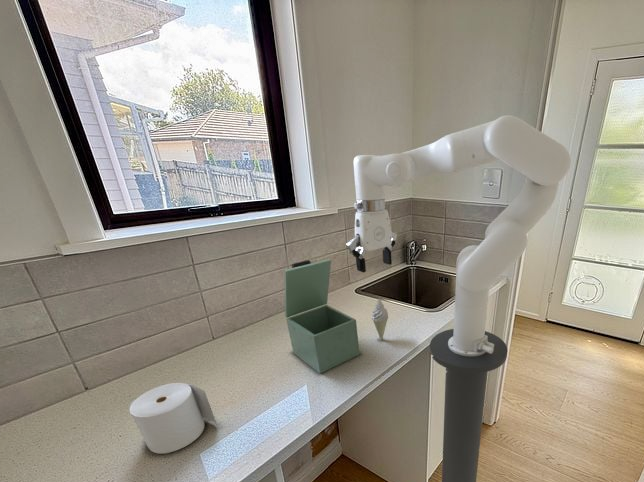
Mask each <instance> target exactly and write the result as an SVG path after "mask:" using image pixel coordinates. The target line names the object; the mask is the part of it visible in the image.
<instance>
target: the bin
mask: <svg viewBox="0 0 644 482" xmlns="http://www.w3.org/2000/svg"><path fill="white" fill-rule="evenodd" d="M285 319H286V324H287V329H288V334H289V339H290V343H291V350H292V353H293V354H294V355H295V356H297V357H298V358H299V359H301V360H302V361H303V362H304V363H306V364H307V365H308V366H309V367H311V368H312V369H314V370H315V371H316V372H317V373H318V374H322V373H324V372H326V371H329V370H330V369H333V368H334V367H337V366H339V365H341V364H343V363H345V362H347V361H349V360H352V359H353V358H355V357H357V356H359V355H360V346H359V345H360V344H359V336H358V327H357V319H355V318H353V317H351V316H349V315H347V314H346V313H343V312H342V311H340V310H339V309H336V308H334V307H332V306H330V305H328V304H325V305H322V306H320V307H317V308H314V309H311V310H308V311H305V312H302V313H299V314H296V315H293V316H290V317H287V318H286V317H285Z"/></svg>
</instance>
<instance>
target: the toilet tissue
mask: <svg viewBox="0 0 644 482" xmlns="http://www.w3.org/2000/svg"><path fill="white" fill-rule="evenodd" d="M128 410H129V413H130V415H131V417H132V419H133V422H134V423H135V424H136V427H137V429H138V431H139V432H140V435H141V436H142V439H143V440H144V443H145V444H146V446H147V448H148V449H149V450H150V451H151V452H152V453H155V454H158V455H159V454H169V453H172V452H176V451H179V450H181V449H183V448H185V447H187V446H188V445H190V444H192V443H193V442H194V441H196V440H197V439H198V438H199V437H200V436H201V435H202V433H203V432H204V430H205V427H206V426H205V424H206V423H205V421H204V419H206V420H208V421H209V422H212V423H214V424H215V425H218V423H217V420H216V418H215V415H214V413H213V409H212V407H211V404H210V402H209V399H208V396H207V393H206V391H205V390H203V388H200V387H198V386H196V385H194V384H189V383H185V382H172V383H166V384H163V385H159V386H157V387H154V388H152V389H149V390H147V391H146V392H144V393H143V394H140V395H139V396H138V397H137V398H136V399H135V400H133V401H132V403H131V404H130V406H129V409H128Z"/></svg>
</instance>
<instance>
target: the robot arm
mask: <svg viewBox="0 0 644 482" xmlns="http://www.w3.org/2000/svg"><path fill="white" fill-rule="evenodd" d="M571 159H572V158H571V155H570V152H569V150H568V148H566V146H564V145H563V144H562V143H560V142H559V141H557V140H556V139H553V138H552V137H550V135H549V136H548V135H547V134H545V133H544V132H542V131H540V130H539V129H537V128H536V127H534V126H532V125H531V124H530V123H528V122H526V121H525V120H523V119H522V118H519V117H517V116H515V115H512V114H506V115H502V116H499V117H498V118H496V119H494V120H491V121H488V122H485V123H481V124H478V125H475V126H472V127H468V128H466V129H461V130H459V131H455V132H452V133H449V134H446V135H444V136H442V137H441V138H439V139H438V140H436V141H434V142H432V143H431V142H430V143H429V144H426V145H423V146H420V147H417V148H414V149H411V150H407V151H404V152H397V153H389V154H384V155H379V154H358V155H356V156H355V157H354V158H353V175H354V187H355V197H356V198H355V199H356V200H355V201H356V203H354V204H353V208H354V209H355V210H356V212H355V217H354V236H353V237H352V238H351V239H350V240H349V241H348V242H346V247H347V249H348V251H349V253H350V254H351V255H352V256H353V257H354V258H355V264H356V269H357V271H359V272H361V273H366V272H367V268H366V259H365V257H364V256H365V255H366V252H372V251H376V250H380V249H382V262H383V264H386V265H392V263H393V262H392V261H393V260H392V252H393V250H394V246H395V245H396V240H397V238H398V234H397V233H396V232H394V231H392V226H391V225H392V224H391V219H390V218H391V217H390V214H389V212H388V211H389V210H387V209H386V200H385V197H386V196H385V186H386V187H393V188H394V187H395V188H397V187H402V186H404V185H406V184H407V183H411V182H414V181H417V180H421V179H424V178H427V177H432V176H435V175H441V174H453V173H458V172H461V171H464V170H468V169H471V168H475V167H479V166H481V165H485V164H489V163H493V162H496V161H499V160H500V161H501V162H503V163H504V164H506V165H507V166H508V167H511V168H512V169H514V170H515V171H517V172H518V173H520V174H522V175H523V176H524V183H523V186H522V187H521V189H520V191H519V192H518V194H517V195H516V196H515V197H514V199H512V201H511V202H510V203H509V204H508V205H507V206H506V208H504V209H503V210H502V211H501V212H500V213H499V214H498V215H497V216H496V217H495V218H494V219H493V220H492V221H491V222H490V223H489V224H488V226H486V229H485V234H484V239H483V240H482V241H481V242H480V244H478V245H477V244H472V245H468V246H466V247H464V248H462V250H461V251H460V252H459V254H458V255H457V257H456V264H455V291H454V292H455V293H454V311H453V312H454V313H453V329H454V332H453V337H451V338H450V339H449V341H448V347H449V349H450V350H451V351H452V352H454V353H456V354H458V355H461V356H468V357H474V356H479V355H482V354H484V353H486V352H488V353H490V354H492V353H493V350H494V348H493V347H494V344H493V343H490V342H488V341H487V338H488V336H487V335H485V331H486V324H487V313H488V303H489V295H490V294H489V292H490V286H492V285H493V284H494V283H495V282H496V281H497V280H498V279H500V277H502V275H503V274H505V273H506V272H507V271H508V270H509V269H510V268H511V267H512V266H513V265H515V263H516V262H518V261H519V259H520V258H521V257H522V256H523V254H524V252H525V251H526V248H527V246H528V233H529V232H530V231H531V230H532V229H533V228H534V227H535V226H536V225H537V224H538V223H539V222H540V221H541V219H542V218H543V217H545V215H546V214H547V213H548V211H549V210H550V208H551V207H552V205H553V204H554V202H555V200H556V197H557V194H558V190H559V183H560V182H561V181H562V180H564V179H565V177H566V176H567V174H568V173H569V171H570V169H571V164H572V160H571ZM355 247H356V248H355Z"/></svg>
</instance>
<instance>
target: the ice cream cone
mask: <svg viewBox="0 0 644 482" xmlns="http://www.w3.org/2000/svg"><path fill="white" fill-rule="evenodd" d="M371 319H372V322H373V324H374V327H375V330H376V331H377V335H378V337H379V339H380V341H383V339H384V335H385V332H386V331H385V330H386V327H387V322H388V319H389V313H388V310H387V308H385V304H383V302H382V300H381V298H380V297H378V299H377V303H376V304H375V308H374V310H373V311H372V318H371Z"/></svg>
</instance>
